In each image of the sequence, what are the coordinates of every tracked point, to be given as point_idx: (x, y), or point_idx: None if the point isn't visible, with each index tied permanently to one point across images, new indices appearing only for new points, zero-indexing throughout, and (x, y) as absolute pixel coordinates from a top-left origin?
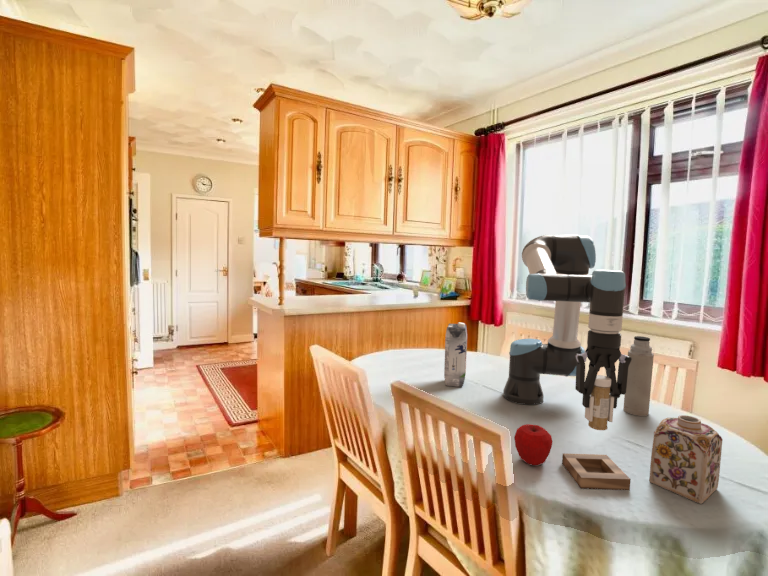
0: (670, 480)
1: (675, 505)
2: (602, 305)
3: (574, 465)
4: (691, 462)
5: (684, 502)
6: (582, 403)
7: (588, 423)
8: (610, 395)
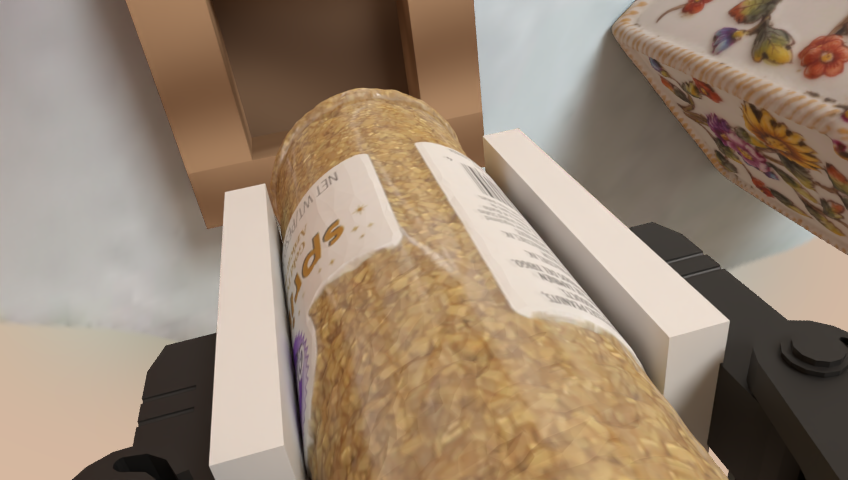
0: (692, 107)
1: (610, 204)
2: None
3: (177, 89)
4: (834, 221)
5: (662, 170)
6: (150, 379)
7: (272, 186)
8: (699, 406)
